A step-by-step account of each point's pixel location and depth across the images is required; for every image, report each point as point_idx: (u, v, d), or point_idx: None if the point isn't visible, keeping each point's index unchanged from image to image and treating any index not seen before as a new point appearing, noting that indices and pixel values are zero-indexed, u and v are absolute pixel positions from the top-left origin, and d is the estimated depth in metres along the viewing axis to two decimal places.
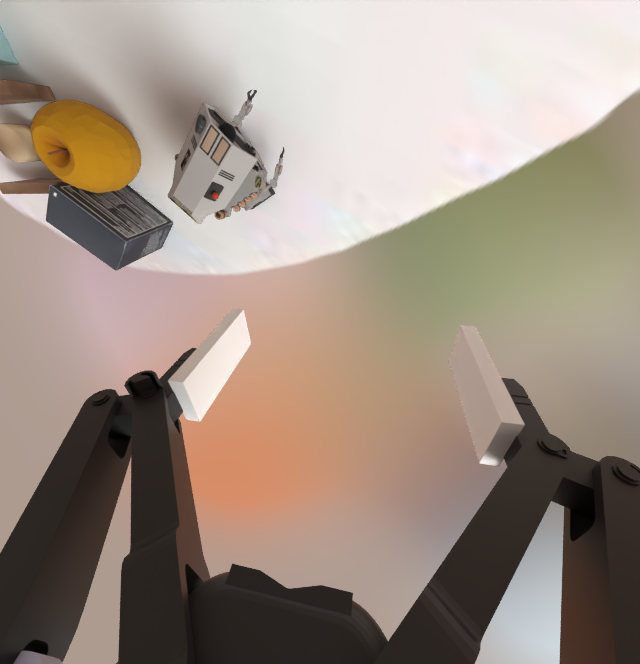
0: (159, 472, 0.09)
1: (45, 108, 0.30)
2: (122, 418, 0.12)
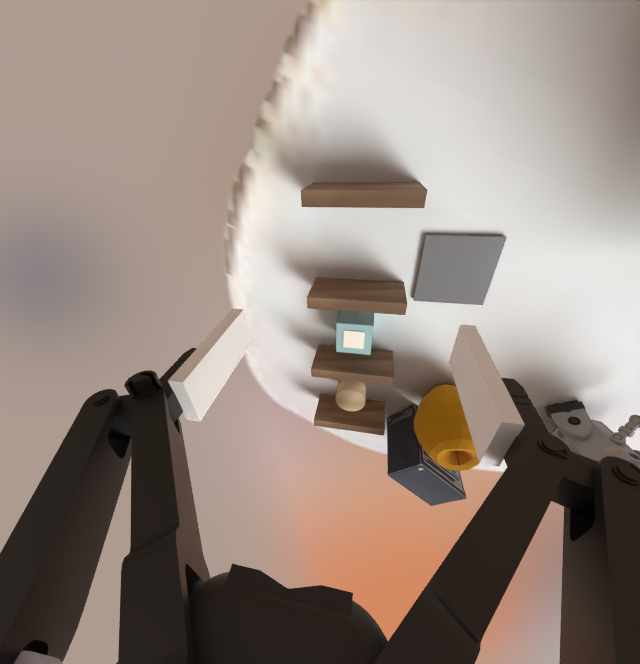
0: (160, 472, 0.09)
1: (463, 428, 0.33)
2: (122, 418, 0.12)
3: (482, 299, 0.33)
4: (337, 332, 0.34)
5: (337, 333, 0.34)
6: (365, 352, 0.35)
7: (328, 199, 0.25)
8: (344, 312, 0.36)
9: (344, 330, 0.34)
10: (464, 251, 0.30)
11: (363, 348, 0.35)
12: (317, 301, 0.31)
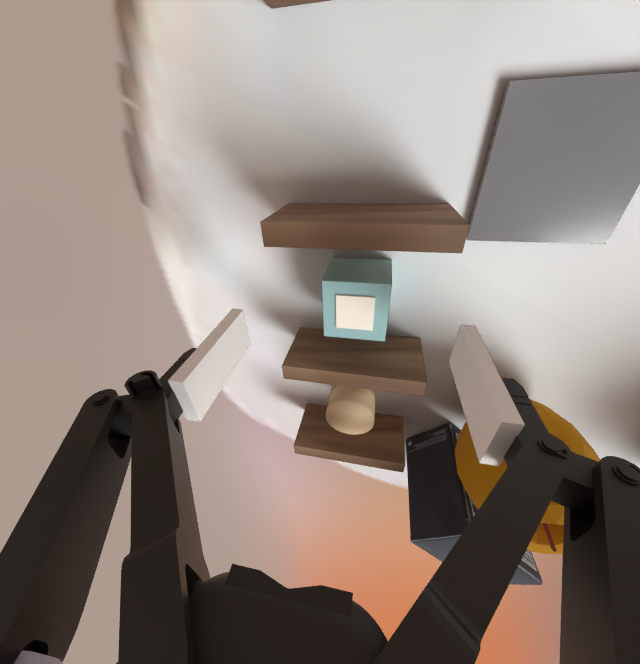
0: (159, 472, 0.09)
1: None
2: (122, 418, 0.12)
3: (608, 231, 0.17)
4: (324, 299, 0.19)
5: (324, 301, 0.19)
6: (375, 337, 0.20)
7: None
8: (338, 266, 0.20)
9: (336, 295, 0.18)
10: (592, 116, 0.14)
11: (372, 329, 0.19)
12: (281, 230, 0.16)
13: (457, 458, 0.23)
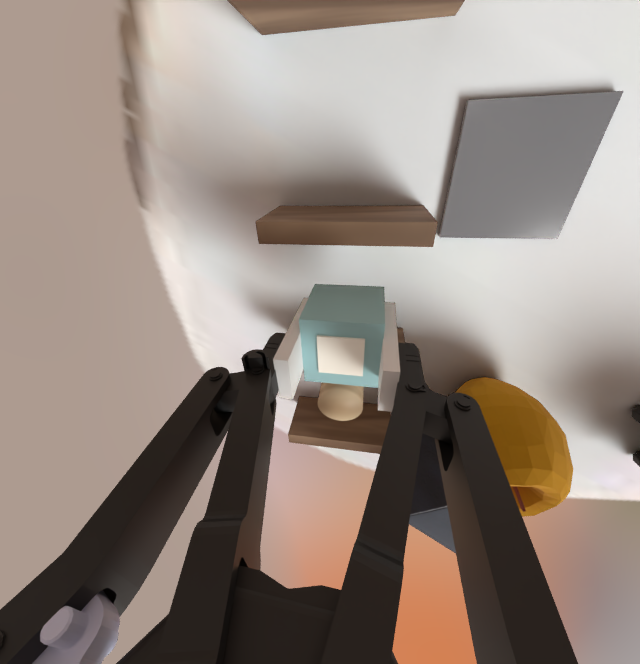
0: (245, 452, 0.09)
1: (531, 449, 0.19)
2: (235, 393, 0.13)
3: (558, 228, 0.19)
4: (303, 340, 0.15)
5: (303, 343, 0.15)
6: (367, 383, 0.16)
7: None
8: (320, 297, 0.17)
9: (317, 336, 0.15)
10: (537, 130, 0.17)
11: (362, 375, 0.16)
12: (274, 229, 0.17)
13: None
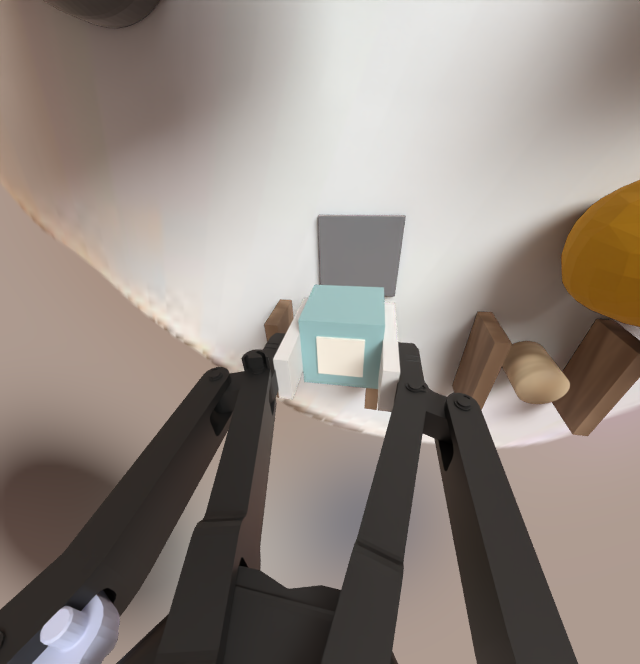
0: (246, 452, 0.09)
1: (629, 272, 0.16)
2: (235, 393, 0.13)
3: (397, 219, 0.25)
4: (303, 341, 0.15)
5: (303, 343, 0.15)
6: (367, 384, 0.16)
7: None
8: (320, 297, 0.17)
9: (316, 337, 0.15)
10: (335, 254, 0.28)
11: (362, 376, 0.16)
12: (369, 401, 0.32)
13: None
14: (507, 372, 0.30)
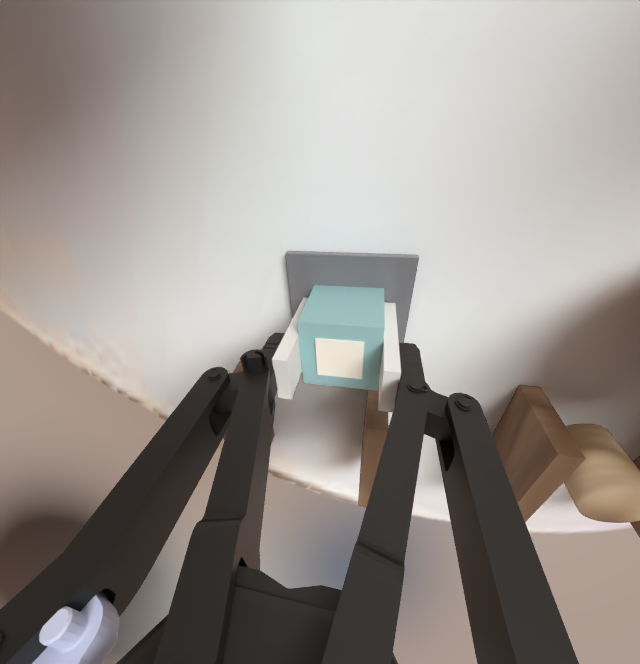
0: (244, 451, 0.09)
1: None
2: (234, 393, 0.13)
3: (405, 261, 0.16)
4: (302, 343, 0.15)
5: (302, 345, 0.15)
6: (366, 385, 0.16)
7: None
8: (319, 298, 0.16)
9: (315, 339, 0.15)
10: None
11: (361, 377, 0.16)
12: (364, 499, 0.23)
13: None
14: None
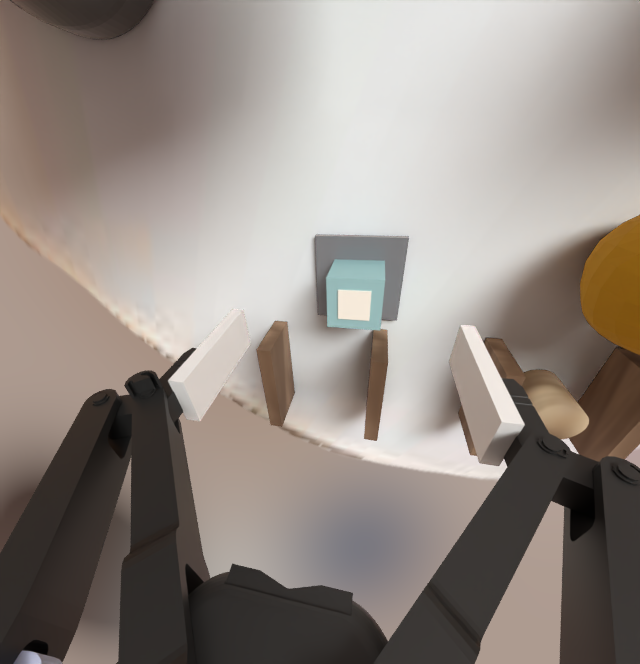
0: (160, 471, 0.09)
1: None
2: (122, 418, 0.12)
3: (399, 240, 0.23)
4: (328, 294, 0.22)
5: (328, 296, 0.22)
6: (372, 326, 0.23)
7: (274, 411, 0.31)
8: (339, 266, 0.23)
9: (338, 290, 0.22)
10: None
11: (369, 319, 0.22)
12: (369, 432, 0.29)
13: None
14: None
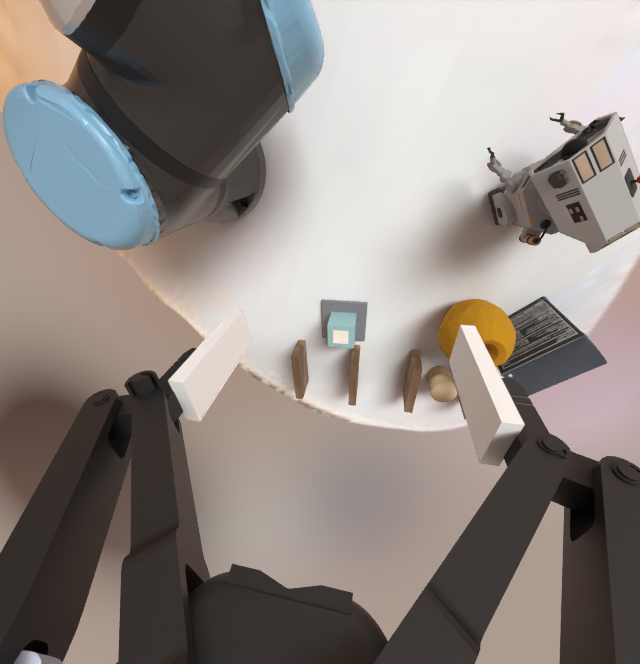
0: (160, 471, 0.09)
1: (451, 345, 0.38)
2: (122, 418, 0.12)
3: (362, 304, 0.47)
4: (328, 332, 0.46)
5: (328, 332, 0.46)
6: (349, 346, 0.47)
7: (298, 390, 0.55)
8: (333, 317, 0.48)
9: (333, 330, 0.46)
10: None
11: (348, 343, 0.47)
12: (351, 400, 0.54)
13: None
14: (429, 384, 0.52)
